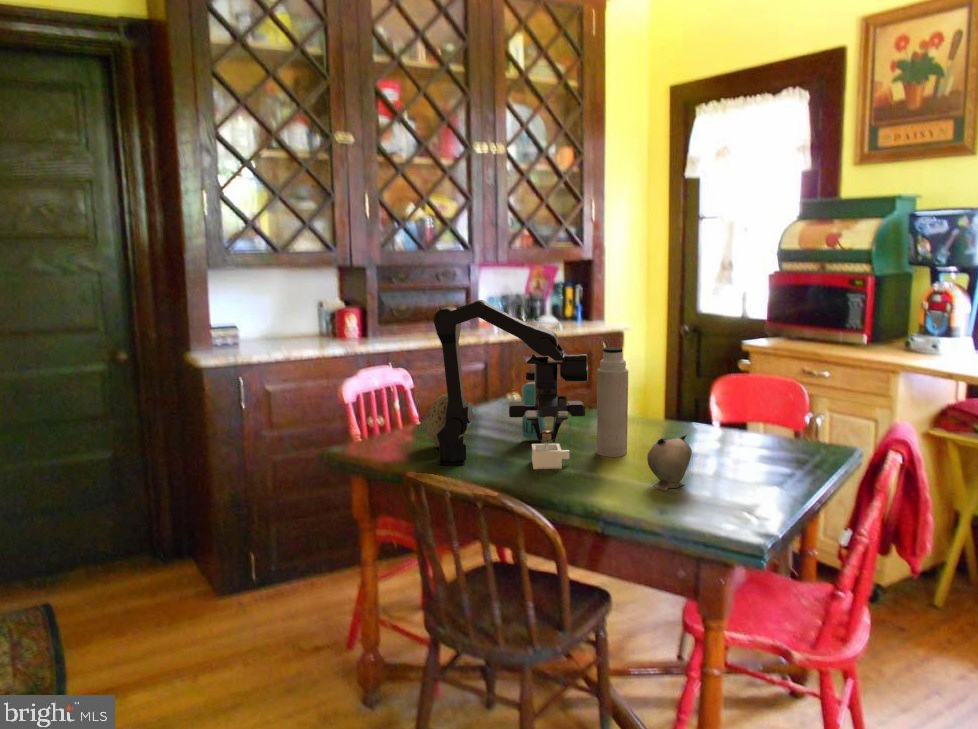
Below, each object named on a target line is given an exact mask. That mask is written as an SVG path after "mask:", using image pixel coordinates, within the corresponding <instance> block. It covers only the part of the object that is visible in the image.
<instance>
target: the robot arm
mask: <svg viewBox="0 0 978 729" xmlns="http://www.w3.org/2000/svg"><path fill="white" fill-rule="evenodd" d="M476 318H478V319H481V320H483V321H485V322H487V323H489V324H491V325H493V326H495V327H497V328H498V329H501V330H503V331H504V332H506V333H508V334H509V335H510V334H511V335H512V336H515V337H516V338H518V339H519V340H521V341H522V342H523V343H524V344H526V346H528V347H529V348H530V349H531V350H532V351H534V353H532V355H531V356H530V357H529V358H528V359H527V361H526V364H528V365H534V371H535V380H534V382H535V405H525V404H524V402H522V401H510V402H509V403H508V417H509V418H523V416H524V415H525V416H526V420H530V421H531V422H532V424H533V426H534V428H535V431H536V435H537V438H538V439H537V440H538V444H542V443H541V442H542V440H541V436H540V429H539V421H538V416H537V413H538V415H539V417H544V418H548V417H552V418H553V424H552V440H551V441H552V444H555V441H556V438H557V435H558V433H559V429H560V427H561V425H562V423H563V422H564V420H565V421H567V420H568V419H569V417H568V413H569V415H571V417H586V406H585V404H584V402H583V401H582V400H567V396H566V395H565V396H564V395H560V396H559V377H560V378H562V380H564V382H565V383H588V381H589V365H588V354H587V353H584V354H583V353H580V354H567V353H566V351H565V350H564V348H563V347H562V346H561V345H560V343H559V337H558V334H557V333H556V332H554V330H551V329H548V328H544V327H541V326H537V325H532V324H529V323H526V322H524V321H523V320H521V319H519V318H517V317H514V316H513V315H511V314H509V313H507V312H505V311H503V310H501V309H499V308H497V307H495V306H494V305H491V304H490V303H488V302H486V301H485V300H483V299H477V300H476V301H474V302H471V303H468V304H465V305H461V306H459V307H455V306H450V305H449V306H446V307H443V308H441V309H439V310H437V312H436V313H435V314H434V315H433V324H434V328H435V331H436V335H437V337H438V340H439V342H440V343H441V348H442V349H441V350H442V356H443V357H442V358H443V365H444V366H443V368H444V375H445V383H446V394H447V395H448V403H447V409H446V418H445V426H444V427H443V428H442V429H441V430H440V431H439V432H438V433H437V438H438V440H439V447H438V448H439V450H438V451H439V452H438V456H439V458H438V459H439V460H438V465H440V466H441V465H442V466H443V465H444V466H445V465H446V466H447V465H449V466H450V465H453V466H454V465H458V466H459V465H465V464H466V463H465V461H467V457H468V455H467V453H468V452H467V442H466V441H465V437H464V436H465V434H466V431H467V430H469V428H470V426H472V422H473V419H474V418H475V414H474V412H473V406H474V404H473V403H474V402H467V399H466V397H465V389H464V380H463V371H462V370H463V369H462V363H461V362H462V361H461V360H462V359H461V352H460V344H459V343H460V336H461V330H462V329H461V328H462V323H465V322H468V321H470V320H473V319H476ZM537 354H538V355H537ZM539 355H540V356H539ZM550 358H551V359H550ZM559 375H560V376H559ZM464 433H465V434H464ZM463 434H464V436H462V435H463Z"/></svg>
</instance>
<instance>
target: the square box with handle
mask: <svg viewBox="0 0 978 729" xmlns="http://www.w3.org/2000/svg"><path fill="white" fill-rule="evenodd" d="M563 460H570V450H569V449H562V447H561V444H560V443H548V451H545V443H532V444H531V463H532V468H533V470H561V469H562V468H563V467H562V466H563V464H562V463H563V462H562V461H563Z"/></svg>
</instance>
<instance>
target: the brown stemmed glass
mask: <svg viewBox="0 0 978 729" xmlns="http://www.w3.org/2000/svg"><path fill="white" fill-rule="evenodd" d="M552 432H553V430H551V429H545V430H541V431H540V436H541V441H544V444H545V451H548V444H549V442H550V441H552Z"/></svg>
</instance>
